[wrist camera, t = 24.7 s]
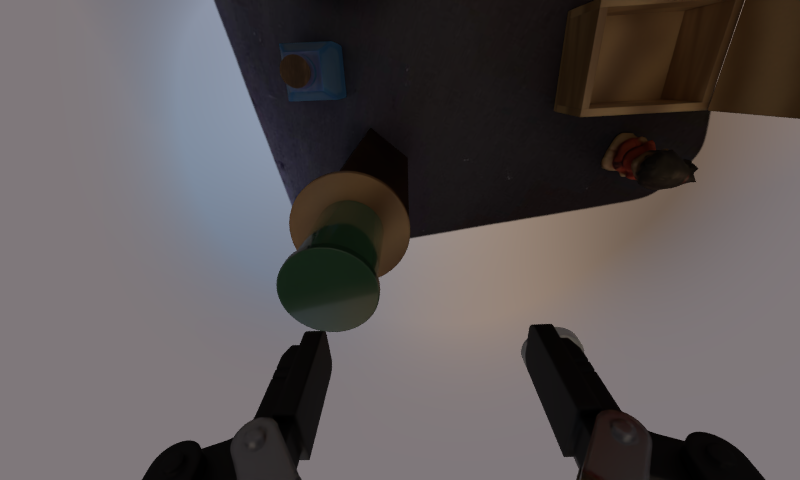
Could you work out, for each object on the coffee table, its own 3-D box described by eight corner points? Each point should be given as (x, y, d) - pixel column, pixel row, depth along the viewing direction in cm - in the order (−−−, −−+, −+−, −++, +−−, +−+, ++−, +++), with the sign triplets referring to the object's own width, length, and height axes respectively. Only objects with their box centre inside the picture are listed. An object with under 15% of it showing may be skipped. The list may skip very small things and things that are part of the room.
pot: (401, 227, 26) (400, 287, 19) (358, 275, 29) (341, 346, 21) (340, 181, 25) (311, 226, 17) (299, 236, 27) (257, 298, 19)
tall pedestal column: (421, 156, 49) (435, 224, 26) (381, 204, 53) (363, 301, 30) (368, 112, 47) (332, 145, 24) (330, 166, 50) (267, 239, 27)
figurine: (641, 125, 47) (711, 140, 36) (642, 162, 49) (708, 185, 38) (596, 141, 48) (651, 159, 37) (599, 176, 50) (651, 202, 39)
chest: (553, 111, 46) (580, 117, 39) (567, 11, 41) (601, -3, 34) (660, 105, 45) (707, 109, 38) (689, 2, 40) (749, -14, 33)
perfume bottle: (346, 96, 46) (328, 102, 35) (303, 98, 46) (271, 104, 35) (341, 45, 43) (320, 35, 32) (295, 47, 43) (258, 37, 32)
